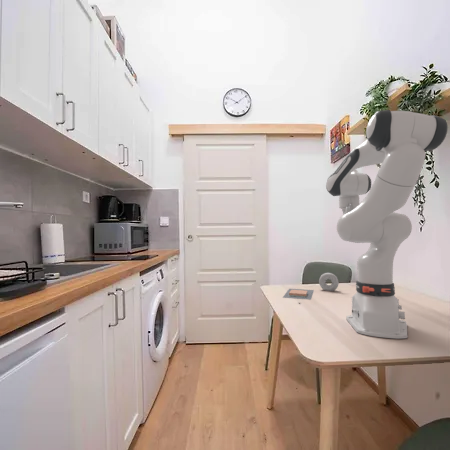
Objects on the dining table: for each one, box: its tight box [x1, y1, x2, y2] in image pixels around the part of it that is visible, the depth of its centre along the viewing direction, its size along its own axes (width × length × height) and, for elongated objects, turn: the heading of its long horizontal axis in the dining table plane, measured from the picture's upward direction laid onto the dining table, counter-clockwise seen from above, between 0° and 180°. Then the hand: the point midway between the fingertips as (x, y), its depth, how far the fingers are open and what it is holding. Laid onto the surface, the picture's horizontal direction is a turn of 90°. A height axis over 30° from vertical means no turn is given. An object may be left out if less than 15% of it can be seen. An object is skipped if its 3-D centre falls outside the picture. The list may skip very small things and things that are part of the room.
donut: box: [318, 272, 340, 292], centre depth 150 cm, size 10×3×10 cm, turn 60°
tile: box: [289, 289, 307, 297], centre depth 140 cm, size 2×8×8 cm
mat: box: [282, 288, 315, 301], centre depth 142 cm, size 22×13×1 cm, turn 159°
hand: (349, 233), depth 133 cm, fingers closed
